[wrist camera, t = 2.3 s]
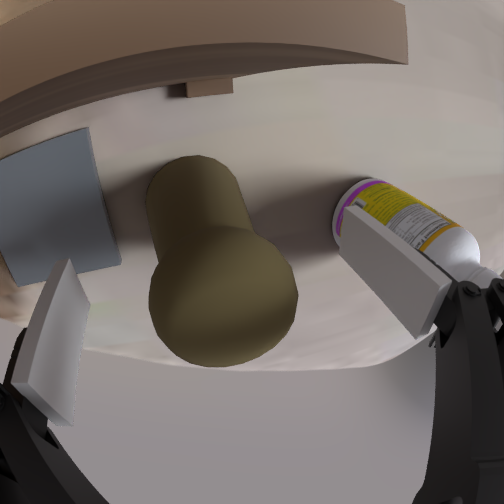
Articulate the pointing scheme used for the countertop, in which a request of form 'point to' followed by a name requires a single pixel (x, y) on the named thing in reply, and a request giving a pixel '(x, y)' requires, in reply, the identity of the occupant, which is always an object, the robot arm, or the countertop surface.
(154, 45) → the screen
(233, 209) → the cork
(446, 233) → the supplement bottle
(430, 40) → the countertop surface
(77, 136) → the coaster
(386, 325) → the countertop surface
